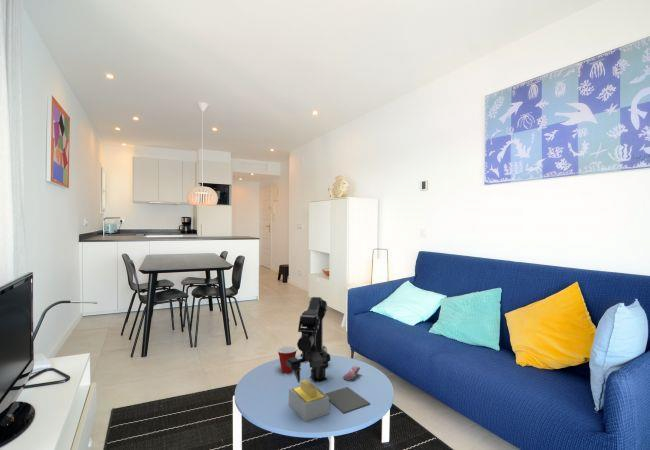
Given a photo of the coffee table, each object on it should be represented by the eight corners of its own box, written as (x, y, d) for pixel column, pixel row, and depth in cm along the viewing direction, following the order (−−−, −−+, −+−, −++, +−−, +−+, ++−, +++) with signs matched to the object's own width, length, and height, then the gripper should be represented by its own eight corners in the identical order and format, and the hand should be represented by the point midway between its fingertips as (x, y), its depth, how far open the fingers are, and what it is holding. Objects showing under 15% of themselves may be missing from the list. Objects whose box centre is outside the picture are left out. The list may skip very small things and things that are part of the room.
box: (310, 397, 152) (311, 382, 152) (328, 413, 139) (328, 397, 139) (288, 404, 146) (289, 388, 146) (305, 421, 133) (305, 404, 133)
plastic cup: (292, 365, 186) (292, 343, 186) (300, 372, 177) (301, 350, 177) (273, 369, 181) (273, 346, 181) (281, 377, 172) (281, 353, 172)
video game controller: (348, 384, 168) (354, 373, 166) (341, 378, 170) (347, 367, 168) (357, 377, 176) (363, 366, 175) (350, 371, 178) (356, 361, 177)
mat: (347, 388, 161) (347, 386, 161) (370, 404, 147) (370, 403, 147) (322, 395, 154) (322, 394, 154) (343, 413, 139) (343, 412, 139)
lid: (310, 386, 150) (310, 376, 150) (324, 398, 139) (324, 387, 139) (293, 391, 146) (293, 380, 146) (306, 404, 135) (306, 393, 135)
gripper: (297, 353, 131) (297, 393, 131) (337, 345, 141) (337, 382, 141) (285, 344, 140) (285, 382, 140) (323, 337, 150) (323, 372, 150)
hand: (308, 379), depth 143 cm, fingers open, 9 cm apart
